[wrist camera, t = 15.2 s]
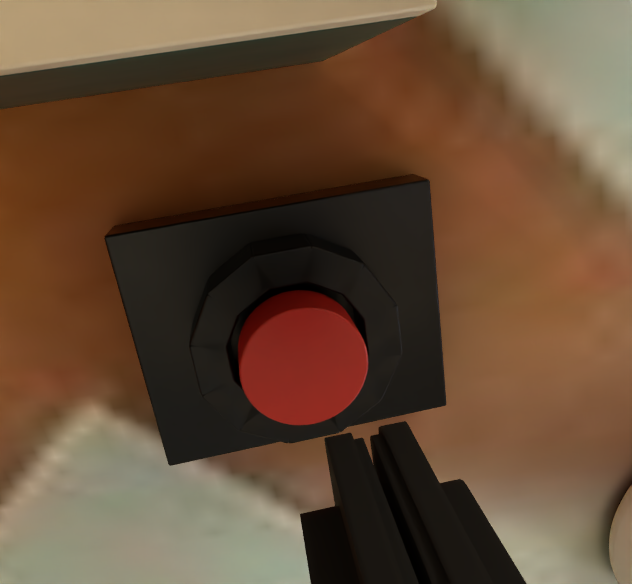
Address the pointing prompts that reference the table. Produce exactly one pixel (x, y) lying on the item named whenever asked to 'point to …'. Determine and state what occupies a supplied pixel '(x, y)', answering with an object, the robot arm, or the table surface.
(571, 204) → the table surface
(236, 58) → the box
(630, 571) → the coffeepot
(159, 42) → the lid
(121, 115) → the table surface
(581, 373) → the table surface
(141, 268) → the switch block
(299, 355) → the button
